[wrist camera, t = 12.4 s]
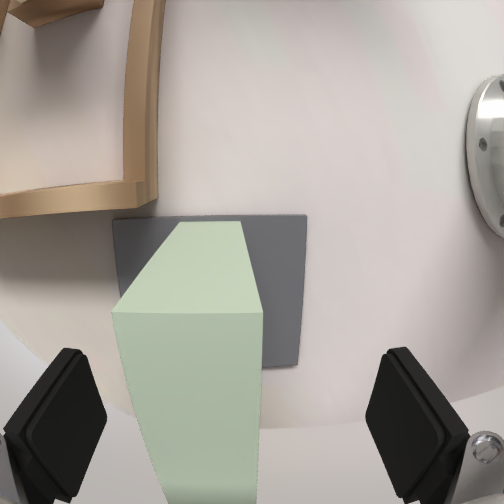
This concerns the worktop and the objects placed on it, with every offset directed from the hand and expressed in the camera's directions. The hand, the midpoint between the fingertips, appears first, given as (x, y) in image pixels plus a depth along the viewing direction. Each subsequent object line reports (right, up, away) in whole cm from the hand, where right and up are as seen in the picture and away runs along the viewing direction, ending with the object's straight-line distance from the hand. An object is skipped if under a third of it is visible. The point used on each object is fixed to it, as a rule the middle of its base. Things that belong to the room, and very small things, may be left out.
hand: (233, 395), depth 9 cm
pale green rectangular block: (-2, +2, +8) cm, 8 cm away
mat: (-2, +2, +8) cm, 9 cm away
